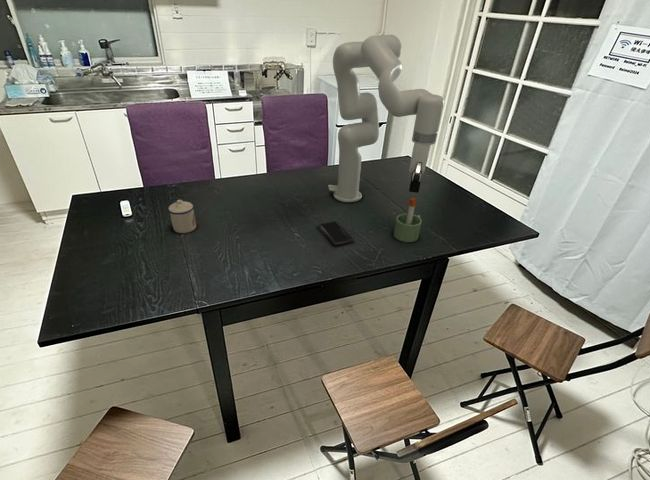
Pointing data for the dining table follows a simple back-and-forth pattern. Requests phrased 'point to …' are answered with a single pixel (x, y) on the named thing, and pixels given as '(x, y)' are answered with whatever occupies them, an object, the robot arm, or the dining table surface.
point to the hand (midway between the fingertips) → (414, 186)
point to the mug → (407, 228)
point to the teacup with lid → (182, 216)
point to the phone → (335, 233)
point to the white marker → (410, 211)
